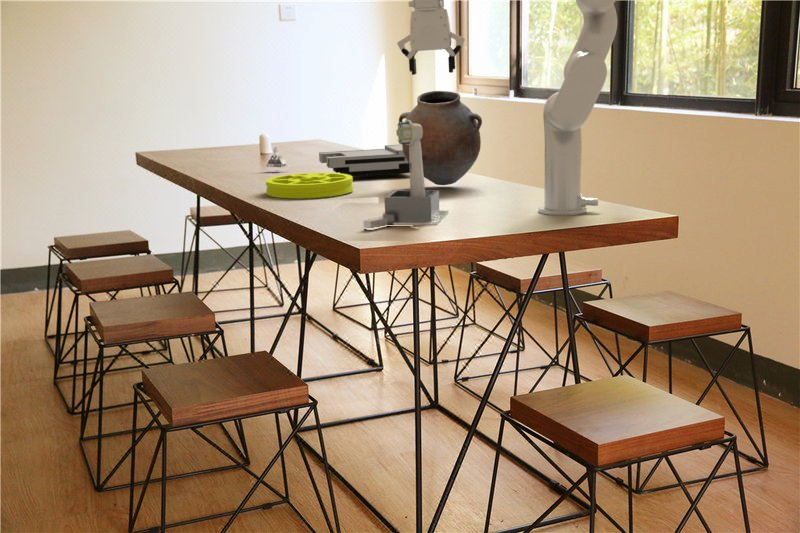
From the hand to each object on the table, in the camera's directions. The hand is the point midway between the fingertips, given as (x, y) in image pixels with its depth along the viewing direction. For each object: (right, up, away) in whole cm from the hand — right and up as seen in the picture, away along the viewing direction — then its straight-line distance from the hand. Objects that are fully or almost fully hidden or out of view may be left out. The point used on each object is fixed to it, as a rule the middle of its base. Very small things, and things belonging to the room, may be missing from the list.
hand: (432, 73), depth 244 cm
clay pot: (+5, -24, +64) cm, 68 cm away
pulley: (-37, -26, +62) cm, 77 cm away
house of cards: (-55, -10, +130) cm, 141 cm away
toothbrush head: (-5, -37, +4) cm, 37 cm away
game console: (-20, -15, +104) cm, 107 cm away
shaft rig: (-5, -38, +4) cm, 38 cm away
